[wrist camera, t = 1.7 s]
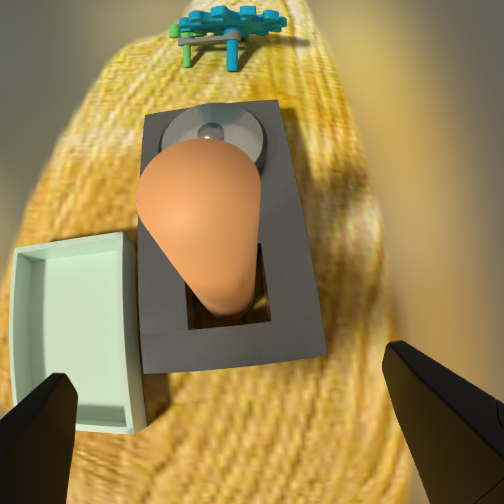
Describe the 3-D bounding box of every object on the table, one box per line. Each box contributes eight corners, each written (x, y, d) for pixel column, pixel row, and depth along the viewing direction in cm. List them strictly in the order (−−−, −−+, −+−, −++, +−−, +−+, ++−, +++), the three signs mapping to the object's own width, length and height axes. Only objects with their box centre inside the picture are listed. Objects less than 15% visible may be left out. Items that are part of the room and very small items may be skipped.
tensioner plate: (317, 355, 19) (337, 353, 15) (155, 372, 19) (130, 374, 14) (275, 121, 25) (279, 79, 21) (152, 135, 24) (138, 96, 20)
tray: (147, 426, 17) (134, 433, 15) (35, 417, 17) (15, 420, 15) (135, 245, 21) (123, 231, 19) (32, 259, 21) (14, 248, 18)
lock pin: (257, 317, 20) (269, 240, 8) (205, 322, 20) (134, 254, 7) (250, 267, 21) (252, 132, 9) (200, 273, 21) (138, 147, 8)
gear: (290, 24, 28) (280, -5, 19) (290, 75, 30) (281, 62, 21) (190, 31, 30) (149, 11, 21) (190, 78, 32) (148, 72, 23)
